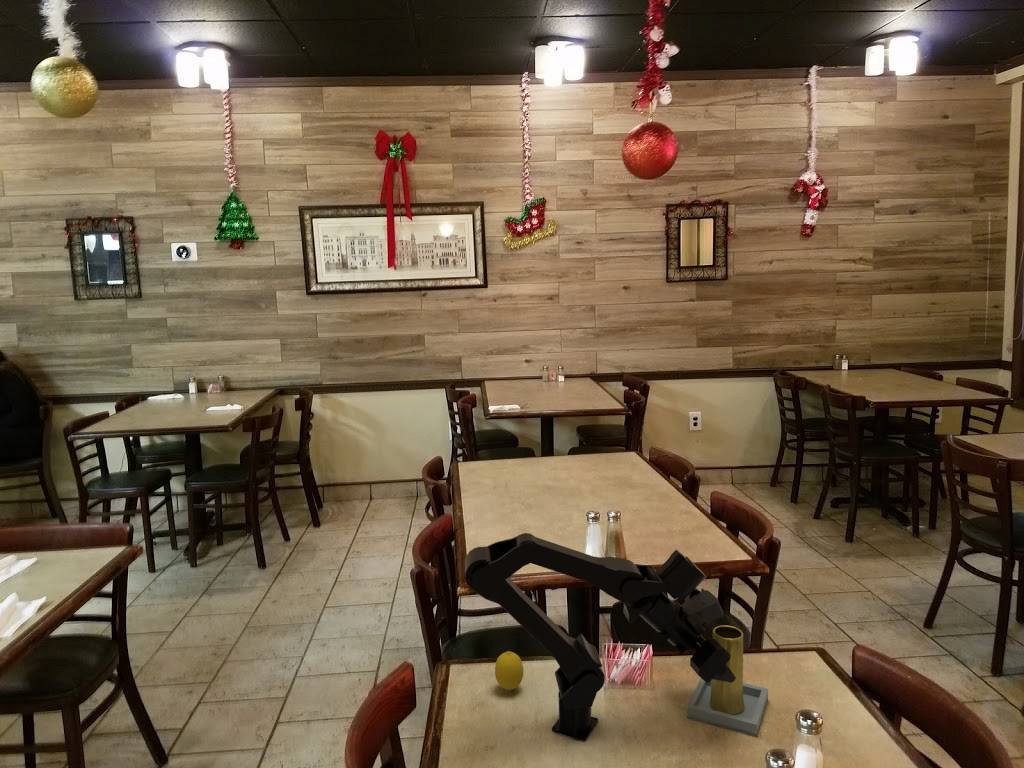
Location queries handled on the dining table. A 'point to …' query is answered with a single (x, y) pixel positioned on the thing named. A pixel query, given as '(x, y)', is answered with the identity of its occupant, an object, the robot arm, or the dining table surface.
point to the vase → (726, 693)
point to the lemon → (509, 670)
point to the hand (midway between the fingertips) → (720, 666)
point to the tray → (739, 722)
